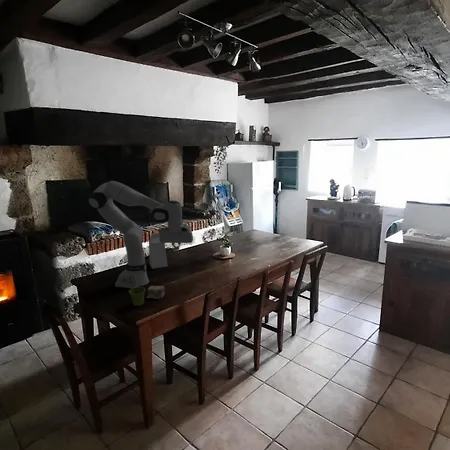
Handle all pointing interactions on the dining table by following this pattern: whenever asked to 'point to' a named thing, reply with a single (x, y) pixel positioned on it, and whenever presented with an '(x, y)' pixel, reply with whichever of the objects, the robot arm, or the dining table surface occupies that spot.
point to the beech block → (156, 291)
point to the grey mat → (154, 297)
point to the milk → (157, 252)
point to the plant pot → (137, 295)
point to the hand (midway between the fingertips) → (176, 249)
